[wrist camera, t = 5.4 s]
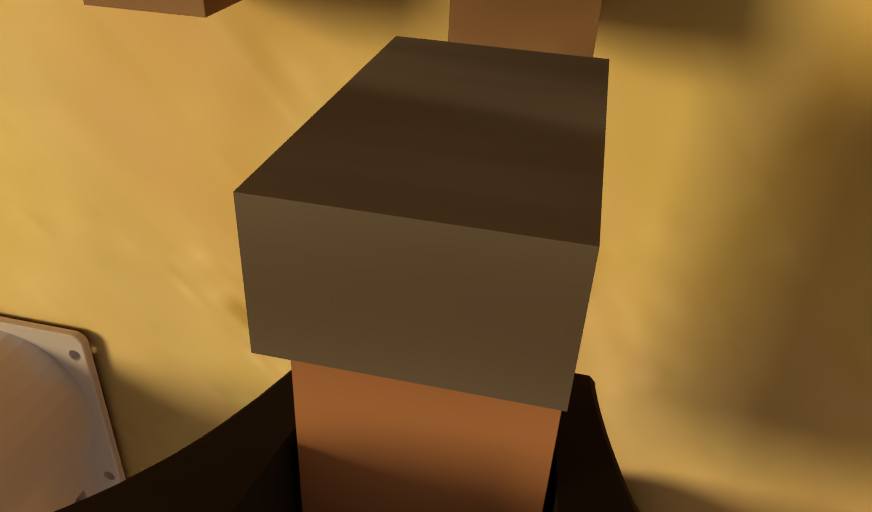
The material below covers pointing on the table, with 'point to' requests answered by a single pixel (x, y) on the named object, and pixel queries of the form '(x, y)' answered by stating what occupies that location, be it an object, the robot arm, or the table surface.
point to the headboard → (461, 21)
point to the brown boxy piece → (431, 273)
